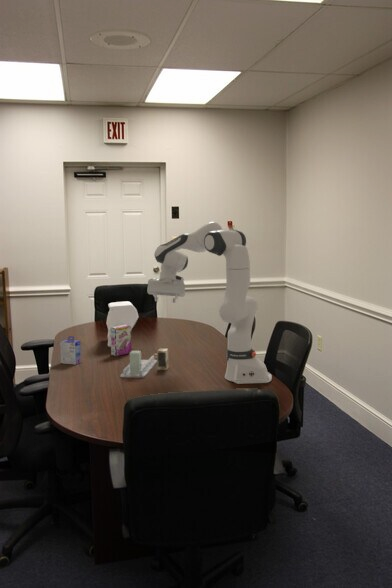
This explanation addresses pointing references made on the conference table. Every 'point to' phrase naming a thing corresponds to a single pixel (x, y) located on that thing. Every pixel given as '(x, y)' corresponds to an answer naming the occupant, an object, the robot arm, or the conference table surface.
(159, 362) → the wooden block
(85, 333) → the conference table surface
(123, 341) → the candy bar box
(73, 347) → the ink cartridge box
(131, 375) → the rail
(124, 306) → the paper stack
